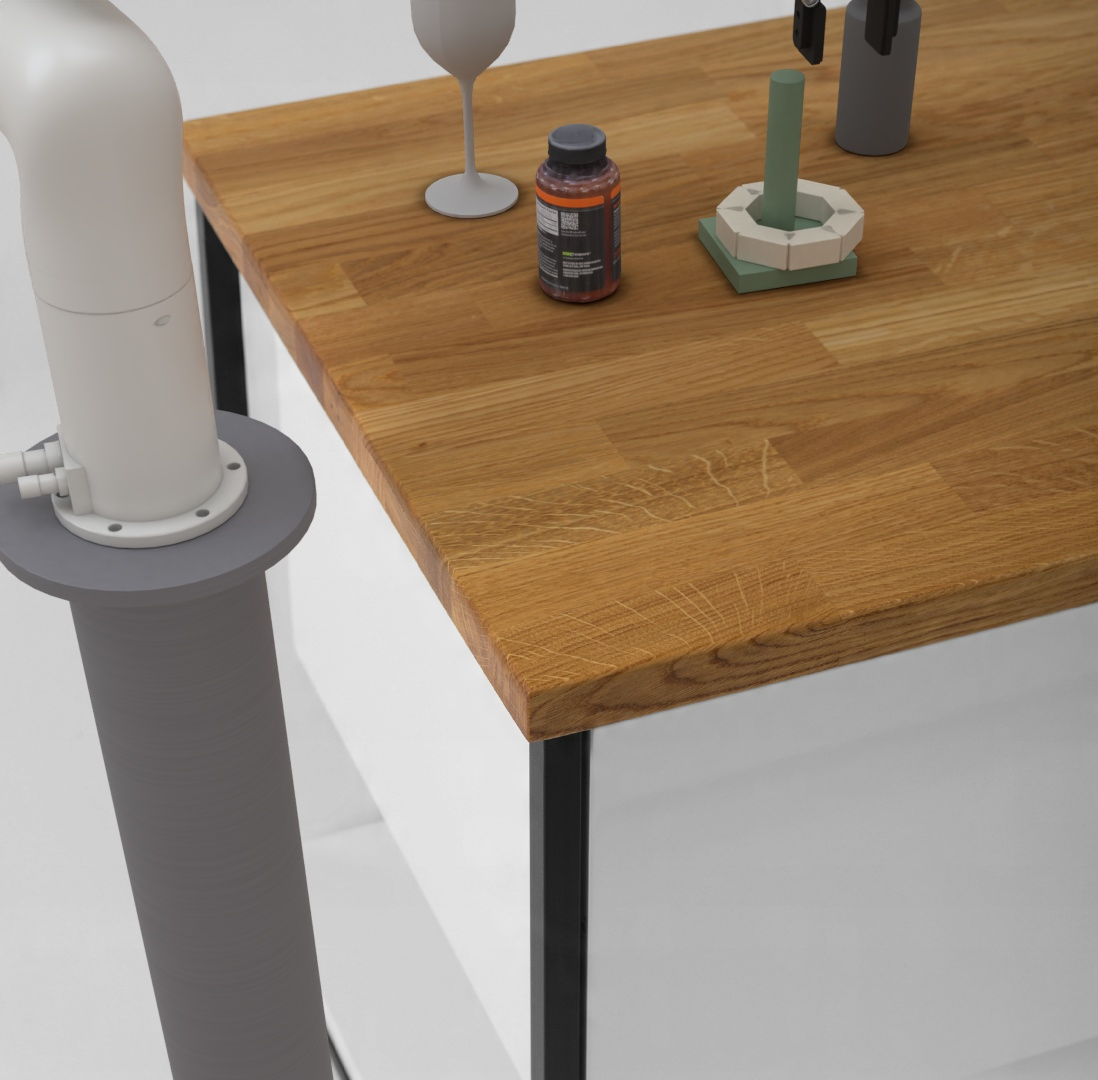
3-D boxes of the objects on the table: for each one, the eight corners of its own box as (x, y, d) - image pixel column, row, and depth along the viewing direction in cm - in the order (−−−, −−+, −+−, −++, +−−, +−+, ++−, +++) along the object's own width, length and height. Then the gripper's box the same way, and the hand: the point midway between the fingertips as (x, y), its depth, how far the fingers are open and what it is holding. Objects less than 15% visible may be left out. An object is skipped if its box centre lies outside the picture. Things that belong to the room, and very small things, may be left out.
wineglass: (536, 184, 159) (530, -97, 145) (494, 226, 154) (484, -60, 140) (449, 167, 161) (435, -110, 147) (405, 208, 156) (386, -75, 142)
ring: (748, 278, 144) (749, 251, 143) (700, 215, 152) (701, 190, 150) (879, 256, 146) (882, 230, 145) (826, 195, 153) (828, 170, 152)
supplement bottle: (605, 260, 150) (605, 110, 142) (632, 298, 146) (634, 146, 138) (527, 273, 149) (523, 123, 141) (552, 312, 144) (550, 159, 137)
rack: (738, 293, 146) (748, 110, 137) (697, 237, 152) (704, 58, 143) (856, 275, 148) (873, 93, 138) (811, 220, 154) (825, 42, 145)
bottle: (910, 127, 165) (931, -64, 155) (904, 159, 161) (926, -35, 151) (838, 121, 166) (854, -68, 156) (830, 153, 162) (846, -40, 152)
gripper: (761, -205, 124) (746, 90, 136) (1016, -232, 127) (979, 58, 140) (720, -240, 129) (709, 46, 142) (966, -265, 132) (934, 17, 145)
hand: (843, 49), depth 141 cm, fingers open, 4 cm apart
